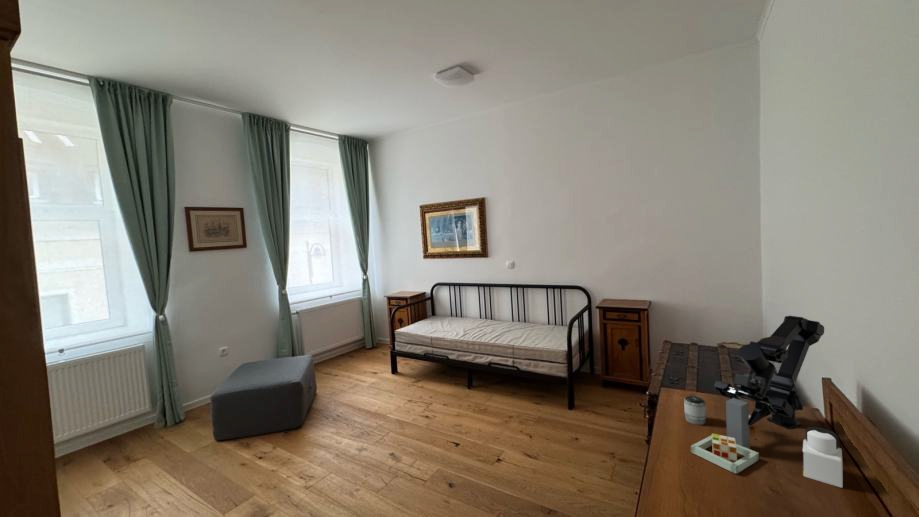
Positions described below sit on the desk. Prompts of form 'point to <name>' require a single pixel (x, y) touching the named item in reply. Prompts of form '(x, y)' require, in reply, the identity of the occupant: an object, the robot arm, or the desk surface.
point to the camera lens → (695, 410)
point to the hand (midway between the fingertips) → (740, 422)
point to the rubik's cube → (724, 447)
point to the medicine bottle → (822, 456)
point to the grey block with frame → (736, 429)
